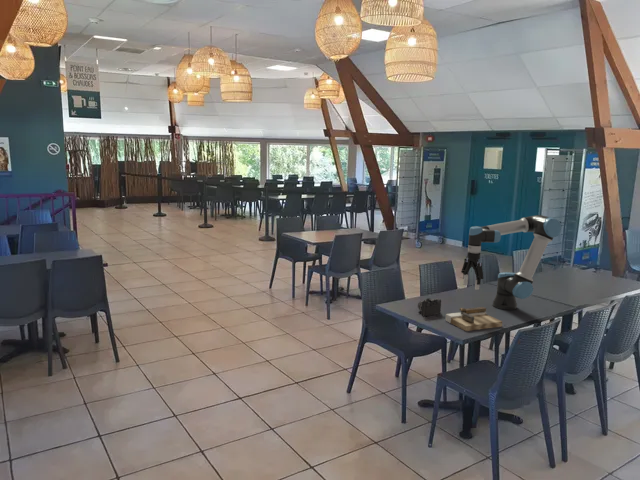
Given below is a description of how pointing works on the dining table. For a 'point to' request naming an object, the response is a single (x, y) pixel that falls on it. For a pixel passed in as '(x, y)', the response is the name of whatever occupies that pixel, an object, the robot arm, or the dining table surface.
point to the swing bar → (473, 310)
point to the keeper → (468, 318)
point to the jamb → (456, 315)
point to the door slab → (477, 322)
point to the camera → (430, 307)
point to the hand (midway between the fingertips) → (471, 287)
